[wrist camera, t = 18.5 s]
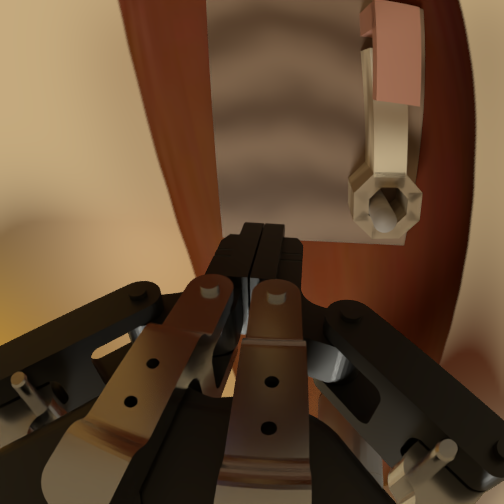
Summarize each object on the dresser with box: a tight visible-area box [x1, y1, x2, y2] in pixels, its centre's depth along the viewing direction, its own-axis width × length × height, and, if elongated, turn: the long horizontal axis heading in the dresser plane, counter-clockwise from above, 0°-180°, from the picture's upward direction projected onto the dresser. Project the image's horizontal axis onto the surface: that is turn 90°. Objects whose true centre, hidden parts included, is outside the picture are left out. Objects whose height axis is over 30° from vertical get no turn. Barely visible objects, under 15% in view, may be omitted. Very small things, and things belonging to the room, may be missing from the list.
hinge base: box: [206, 0, 425, 245], centre depth 22 cm, size 22×18×6 cm
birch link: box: [348, 48, 423, 239], centre depth 22 cm, size 15×6×4 cm, turn 6°
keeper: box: [359, 0, 421, 107], centre depth 17 cm, size 7×3×6 cm, turn 2°
